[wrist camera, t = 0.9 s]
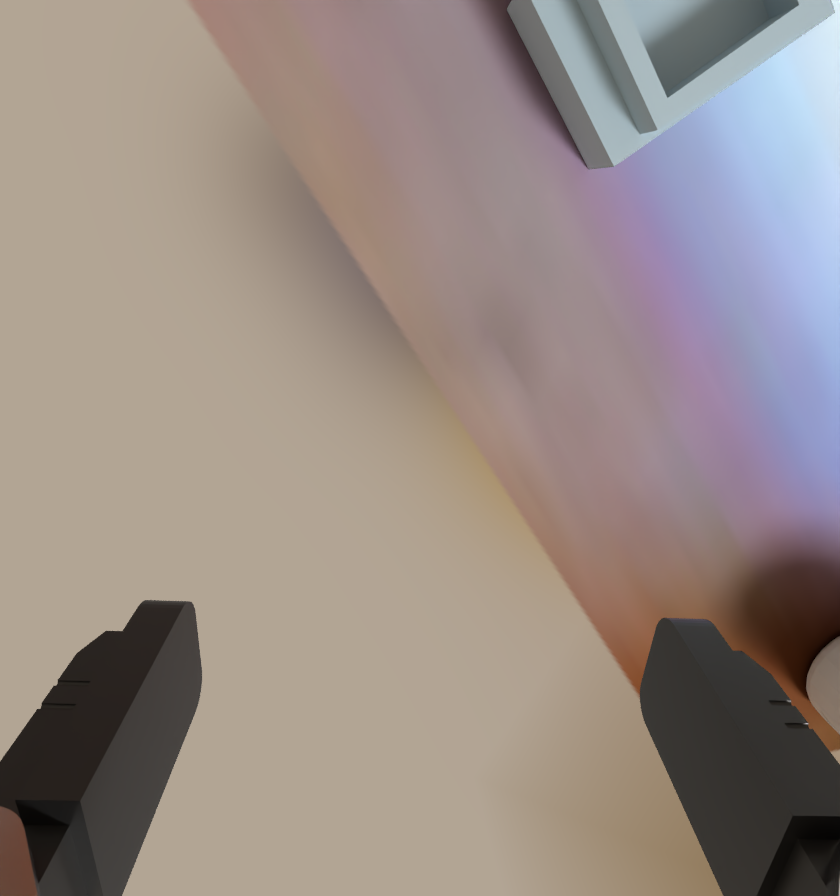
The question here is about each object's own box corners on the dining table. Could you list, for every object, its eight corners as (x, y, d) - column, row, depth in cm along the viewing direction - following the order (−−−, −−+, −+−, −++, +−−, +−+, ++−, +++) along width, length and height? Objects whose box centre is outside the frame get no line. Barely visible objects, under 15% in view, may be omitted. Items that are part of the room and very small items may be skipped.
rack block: (710, -152, 25) (795, -249, 20) (778, 35, 28) (870, -3, 22) (506, 9, 27) (531, -37, 22) (588, 169, 30) (629, 164, 24)
